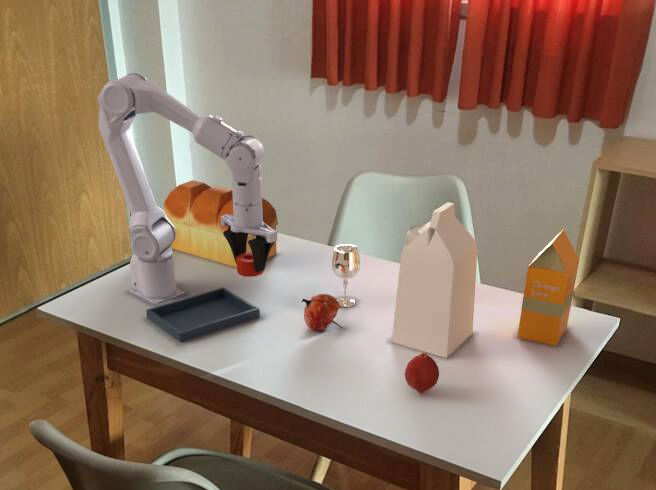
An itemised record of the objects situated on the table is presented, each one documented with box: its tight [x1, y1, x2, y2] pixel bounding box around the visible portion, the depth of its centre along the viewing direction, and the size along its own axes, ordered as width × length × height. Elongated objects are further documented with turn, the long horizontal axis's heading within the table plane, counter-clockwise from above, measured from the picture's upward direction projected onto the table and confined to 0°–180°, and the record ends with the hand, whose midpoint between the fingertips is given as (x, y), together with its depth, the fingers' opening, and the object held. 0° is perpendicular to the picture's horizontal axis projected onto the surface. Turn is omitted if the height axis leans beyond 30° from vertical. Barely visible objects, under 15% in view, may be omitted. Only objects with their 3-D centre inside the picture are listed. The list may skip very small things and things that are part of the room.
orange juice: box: [517, 228, 580, 347], centre depth 157 cm, size 8×9×20 cm
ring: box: [236, 252, 265, 278], centre depth 167 cm, size 5×5×3 cm
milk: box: [391, 201, 478, 359], centre depth 153 cm, size 12×12×26 cm
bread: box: [163, 179, 279, 268], centre depth 194 cm, size 25×12×15 cm, turn 55°
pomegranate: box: [300, 293, 344, 333], centre depth 161 cm, size 7×7×10 cm
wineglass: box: [331, 244, 361, 308], centre depth 170 cm, size 6×6×12 cm
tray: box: [145, 286, 261, 343], centre depth 166 cm, size 13×18×2 cm
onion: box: [404, 351, 440, 394], centre depth 140 cm, size 6×6×8 cm
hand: (250, 267), depth 168 cm, fingers closed on ring, 5 cm apart
